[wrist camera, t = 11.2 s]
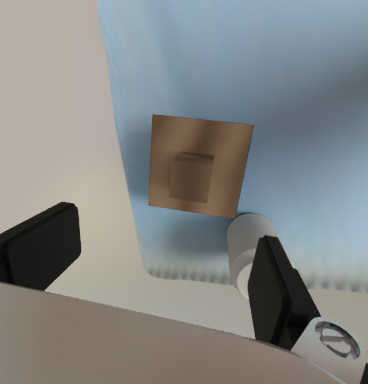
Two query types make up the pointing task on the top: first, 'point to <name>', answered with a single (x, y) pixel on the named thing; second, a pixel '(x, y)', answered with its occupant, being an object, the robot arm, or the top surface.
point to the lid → (198, 164)
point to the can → (246, 247)
